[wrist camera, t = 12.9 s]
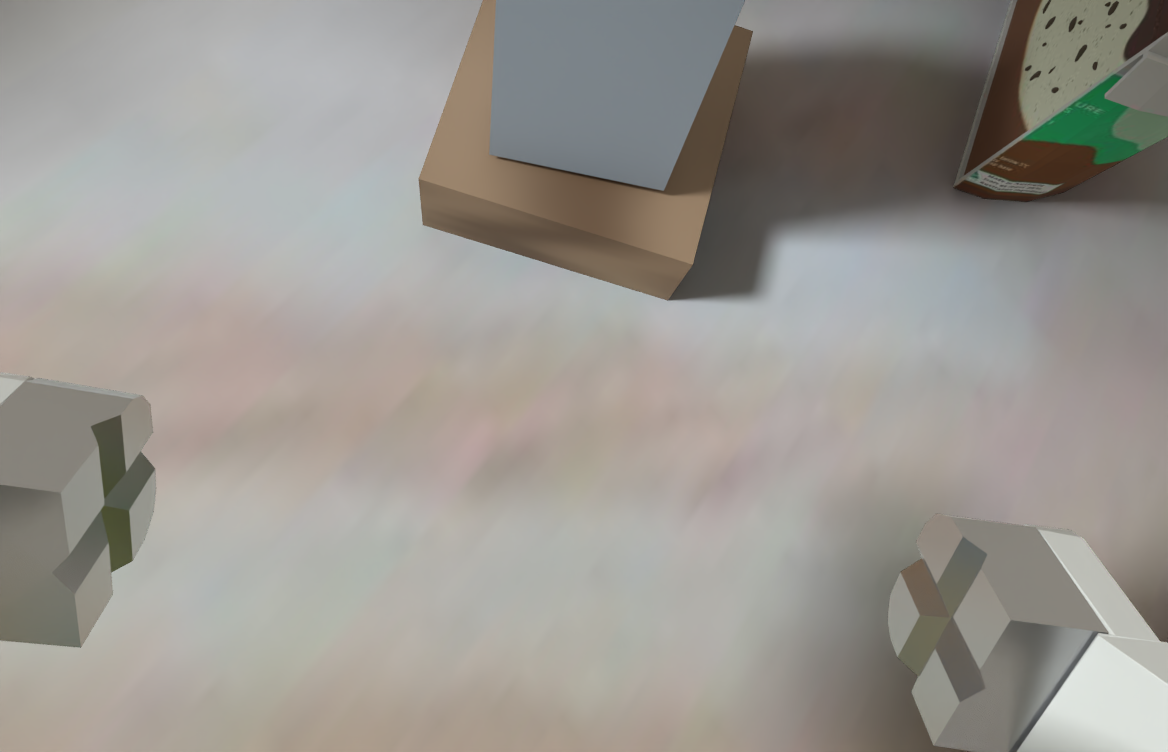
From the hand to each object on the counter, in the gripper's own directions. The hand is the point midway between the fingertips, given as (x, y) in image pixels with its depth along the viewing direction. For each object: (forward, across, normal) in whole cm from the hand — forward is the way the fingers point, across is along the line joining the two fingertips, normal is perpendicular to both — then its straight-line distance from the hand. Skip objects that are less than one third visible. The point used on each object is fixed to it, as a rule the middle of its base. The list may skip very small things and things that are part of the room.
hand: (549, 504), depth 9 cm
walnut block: (+22, -1, +3) cm, 22 cm away
